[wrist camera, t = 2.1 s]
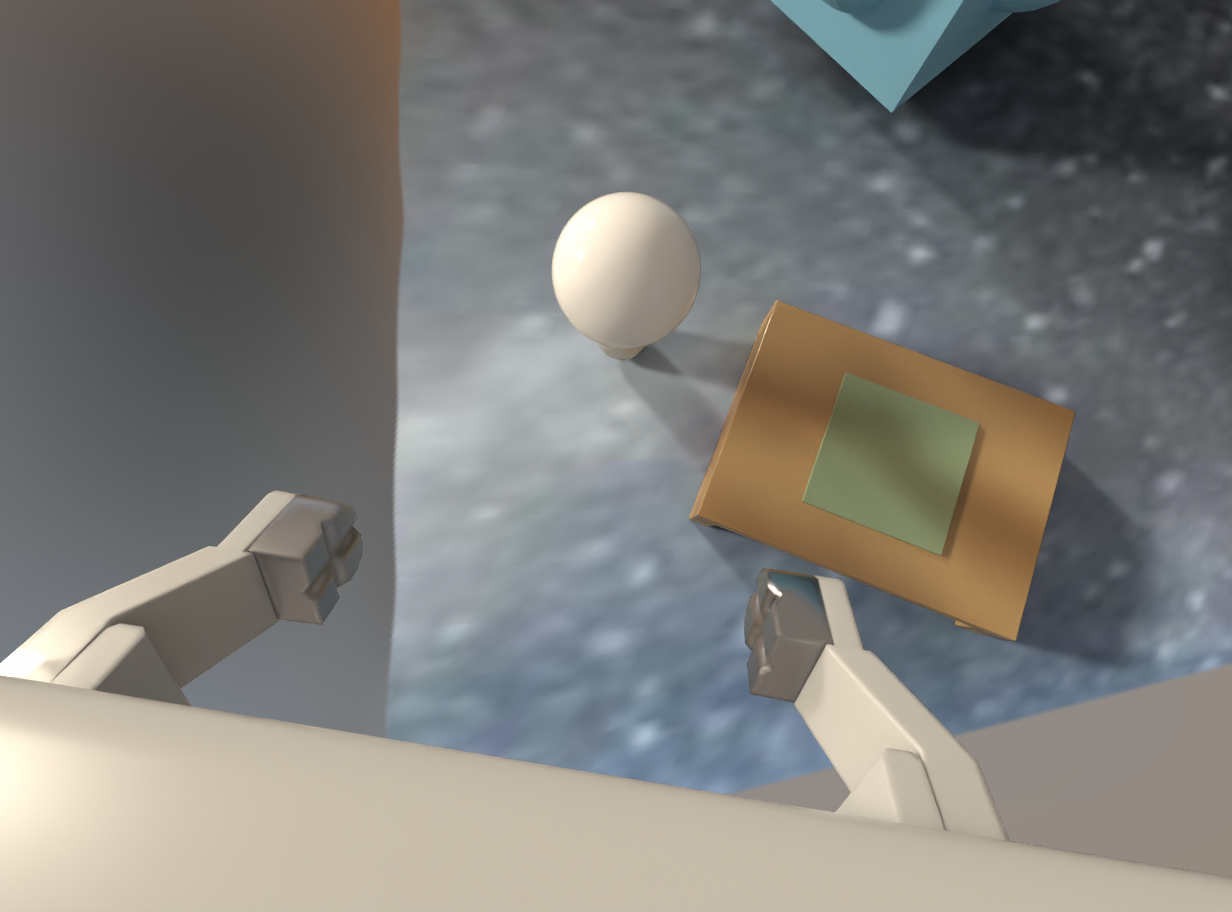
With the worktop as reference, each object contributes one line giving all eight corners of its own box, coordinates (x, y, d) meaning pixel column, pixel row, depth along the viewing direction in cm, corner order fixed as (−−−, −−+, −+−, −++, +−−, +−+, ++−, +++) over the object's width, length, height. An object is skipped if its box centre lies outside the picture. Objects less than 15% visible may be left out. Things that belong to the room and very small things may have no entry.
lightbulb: (698, 325, 32) (744, 210, 22) (638, 416, 31) (654, 343, 21) (605, 268, 33) (604, 128, 22) (543, 356, 32) (510, 254, 21)
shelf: (975, 633, 30) (1019, 642, 27) (688, 519, 31) (697, 514, 27) (1032, 424, 32) (1079, 410, 29) (761, 322, 32) (777, 298, 29)
